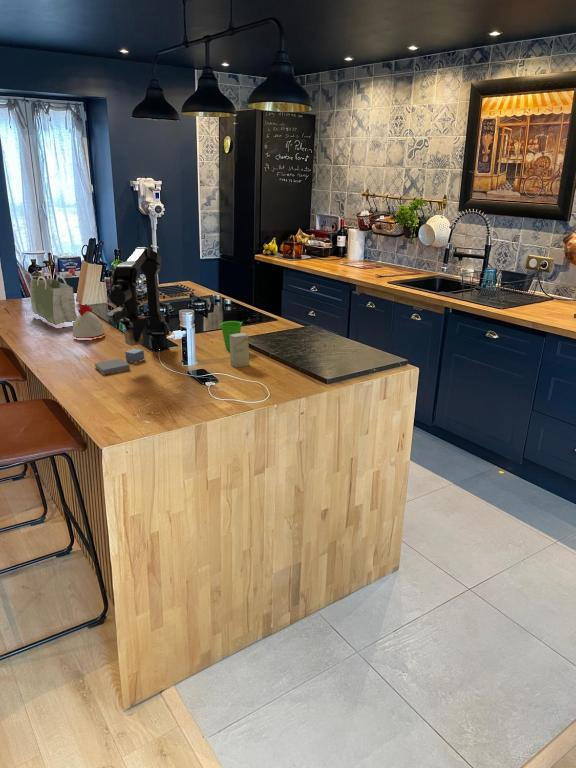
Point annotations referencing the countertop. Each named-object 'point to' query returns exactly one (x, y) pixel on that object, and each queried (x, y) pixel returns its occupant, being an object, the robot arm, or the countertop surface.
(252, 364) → the countertop surface
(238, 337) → the skincare box
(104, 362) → the slate pad
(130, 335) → the walnut cube
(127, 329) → the robot arm
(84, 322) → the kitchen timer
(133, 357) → the slate block
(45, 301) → the grocery bag
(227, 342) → the cup
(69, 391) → the countertop surface
